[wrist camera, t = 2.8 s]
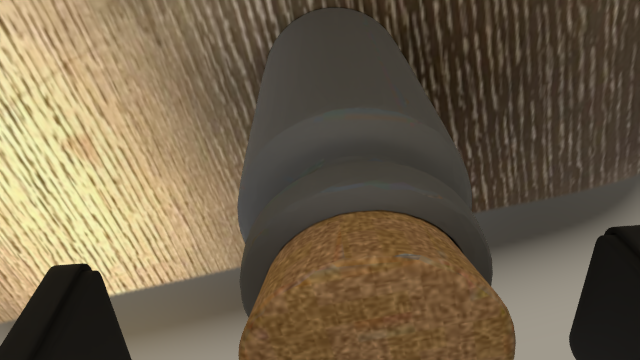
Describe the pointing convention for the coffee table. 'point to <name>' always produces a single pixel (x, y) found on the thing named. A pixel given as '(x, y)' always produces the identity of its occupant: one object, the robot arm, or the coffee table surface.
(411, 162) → the bottle
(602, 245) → the robot arm
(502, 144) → the coffee table surface
